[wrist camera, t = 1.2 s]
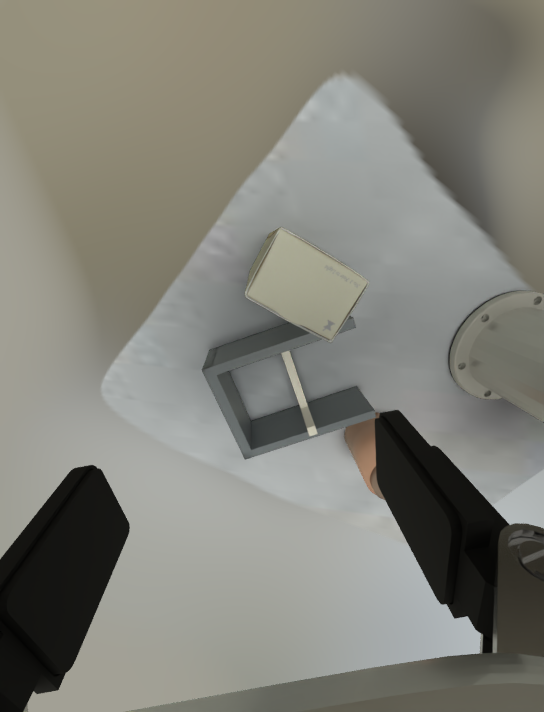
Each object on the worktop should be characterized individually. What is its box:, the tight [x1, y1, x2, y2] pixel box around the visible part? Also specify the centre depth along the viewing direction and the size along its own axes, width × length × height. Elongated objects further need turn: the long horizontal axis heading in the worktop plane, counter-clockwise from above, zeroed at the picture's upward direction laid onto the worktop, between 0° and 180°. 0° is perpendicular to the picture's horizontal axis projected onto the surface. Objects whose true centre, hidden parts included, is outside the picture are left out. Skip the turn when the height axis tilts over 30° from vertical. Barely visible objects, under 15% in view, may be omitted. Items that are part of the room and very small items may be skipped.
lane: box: [202, 316, 376, 459], centre depth 29 cm, size 14×11×5 cm
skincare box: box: [245, 227, 369, 343], centre depth 22 cm, size 6×4×12 cm
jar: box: [344, 412, 385, 500], centre depth 32 cm, size 6×6×8 cm
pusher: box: [281, 351, 318, 436], centre depth 28 cm, size 1×8×6 cm, turn 19°
